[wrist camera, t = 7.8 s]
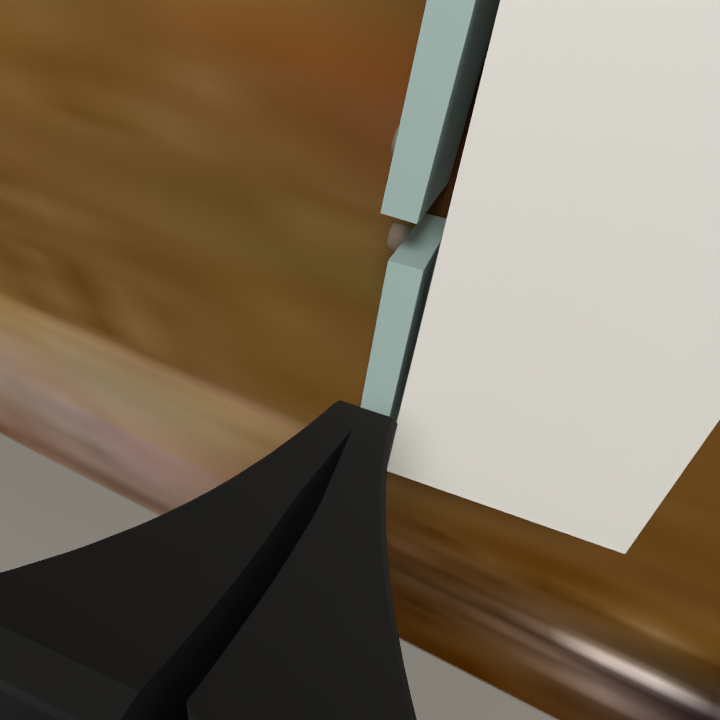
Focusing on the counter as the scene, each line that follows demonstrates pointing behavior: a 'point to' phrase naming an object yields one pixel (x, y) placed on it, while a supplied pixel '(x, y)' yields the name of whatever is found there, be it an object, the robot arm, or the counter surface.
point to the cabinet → (567, 274)
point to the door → (437, 103)
